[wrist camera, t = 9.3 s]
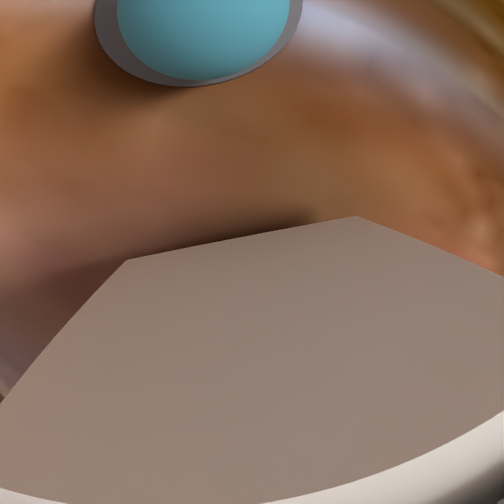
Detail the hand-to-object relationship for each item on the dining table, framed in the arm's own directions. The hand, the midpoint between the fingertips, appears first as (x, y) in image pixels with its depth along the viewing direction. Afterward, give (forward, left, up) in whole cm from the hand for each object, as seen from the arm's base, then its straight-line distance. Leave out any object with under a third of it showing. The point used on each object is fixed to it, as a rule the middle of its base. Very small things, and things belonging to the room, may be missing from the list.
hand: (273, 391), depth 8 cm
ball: (+10, -4, -2) cm, 11 cm away
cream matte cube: (0, 0, -3) cm, 3 cm away
